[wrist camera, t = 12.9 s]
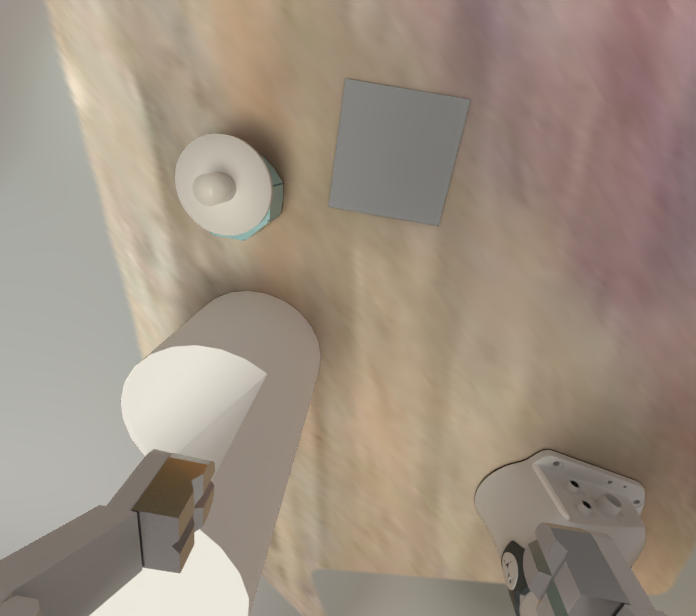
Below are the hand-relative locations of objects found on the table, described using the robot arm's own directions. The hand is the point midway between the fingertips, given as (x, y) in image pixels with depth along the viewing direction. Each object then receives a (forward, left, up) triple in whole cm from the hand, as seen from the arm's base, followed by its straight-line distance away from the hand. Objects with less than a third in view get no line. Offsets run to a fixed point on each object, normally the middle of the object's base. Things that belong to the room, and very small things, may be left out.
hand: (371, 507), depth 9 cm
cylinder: (+13, +18, -34) cm, 41 cm away
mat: (0, -8, -34) cm, 35 cm away
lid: (+15, -3, -29) cm, 33 cm away
